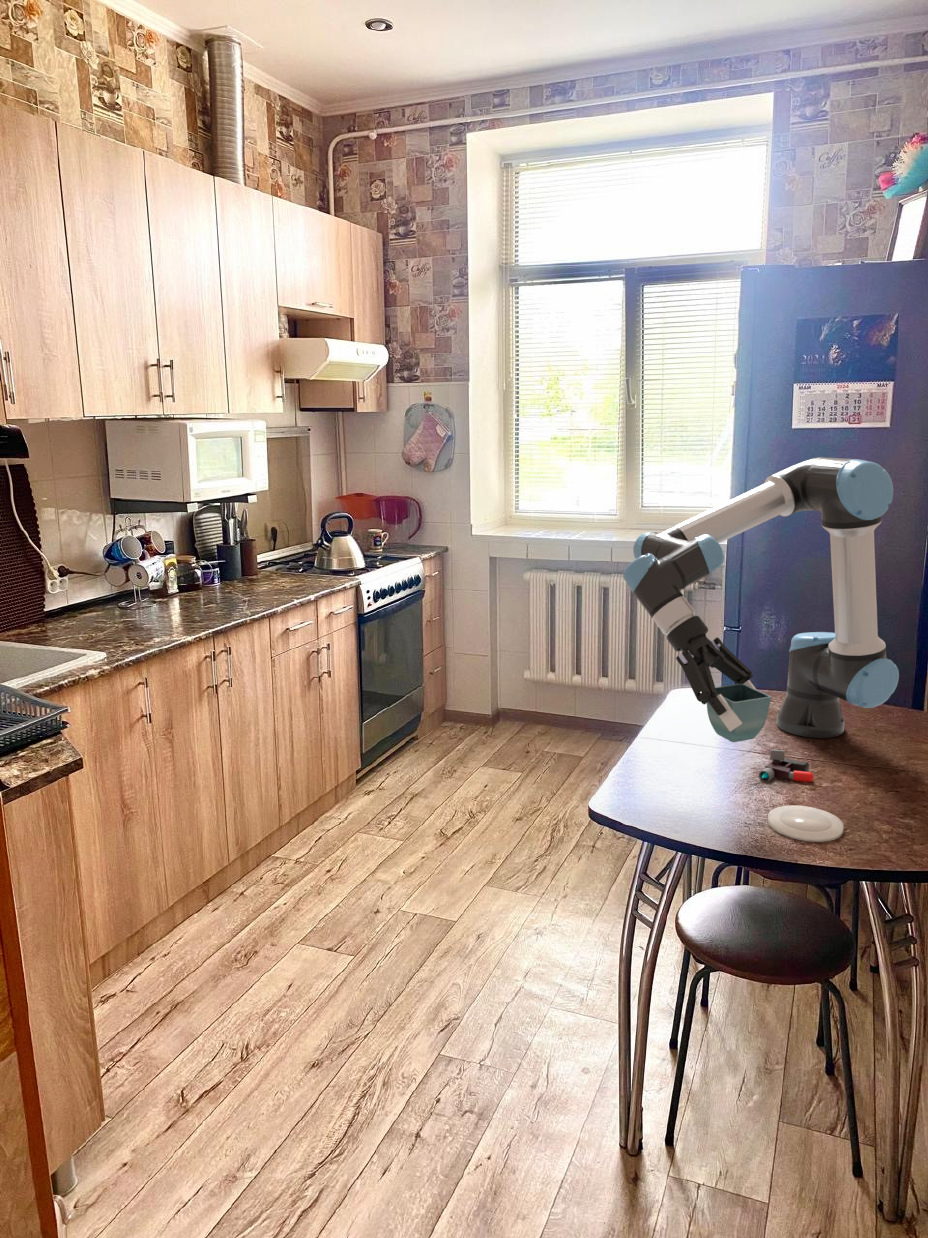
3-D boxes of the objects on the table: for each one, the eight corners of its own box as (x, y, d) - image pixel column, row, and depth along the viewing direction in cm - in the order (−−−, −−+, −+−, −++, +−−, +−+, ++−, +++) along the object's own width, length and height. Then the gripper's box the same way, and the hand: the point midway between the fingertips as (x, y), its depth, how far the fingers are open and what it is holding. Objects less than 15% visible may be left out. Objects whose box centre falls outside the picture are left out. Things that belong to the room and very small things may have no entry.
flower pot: (730, 748, 171) (734, 702, 168) (701, 732, 178) (704, 688, 176) (768, 742, 174) (772, 696, 172) (738, 726, 182) (741, 683, 180)
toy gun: (753, 781, 191) (755, 759, 190) (777, 765, 200) (779, 743, 199) (799, 794, 185) (801, 771, 184) (822, 776, 193) (824, 754, 192)
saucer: (810, 806, 178) (810, 800, 178) (859, 835, 166) (859, 829, 166) (753, 816, 174) (753, 810, 174) (798, 846, 162) (799, 840, 162)
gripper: (697, 625, 191) (763, 714, 184) (636, 647, 174) (706, 746, 167) (722, 604, 186) (791, 694, 180) (662, 625, 169) (736, 725, 163)
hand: (750, 719), depth 173 cm, fingers closed on flower pot, 11 cm apart
